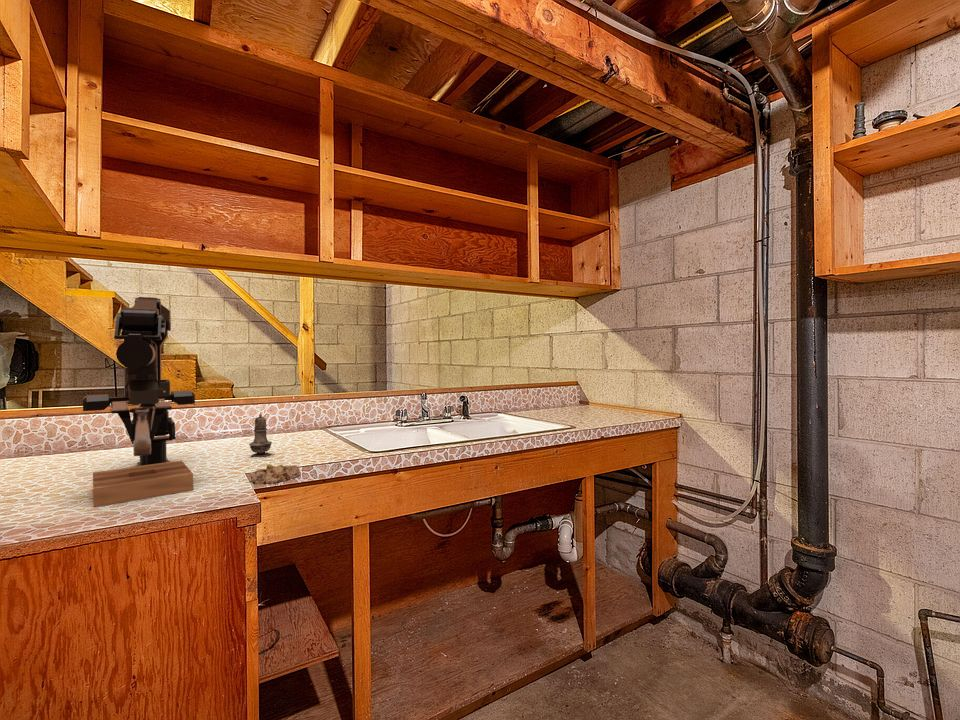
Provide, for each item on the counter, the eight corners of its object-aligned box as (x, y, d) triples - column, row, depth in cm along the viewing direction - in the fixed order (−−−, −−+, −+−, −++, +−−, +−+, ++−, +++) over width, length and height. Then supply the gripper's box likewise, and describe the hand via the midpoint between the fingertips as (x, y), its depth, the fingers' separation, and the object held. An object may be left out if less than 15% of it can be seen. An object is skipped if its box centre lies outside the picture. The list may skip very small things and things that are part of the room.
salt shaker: (276, 455, 128) (276, 413, 128) (256, 459, 123) (256, 415, 123) (264, 452, 131) (264, 411, 131) (244, 456, 126) (244, 414, 126)
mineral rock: (255, 478, 96) (247, 461, 102) (253, 496, 97) (245, 478, 103) (306, 471, 103) (296, 456, 109) (304, 488, 104) (294, 472, 110)
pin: (129, 454, 96) (129, 407, 96) (152, 451, 98) (152, 406, 98) (131, 457, 93) (130, 409, 93) (154, 454, 95) (154, 407, 95)
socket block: (93, 488, 96) (92, 472, 96) (181, 474, 107) (181, 460, 107) (93, 507, 84) (93, 488, 84) (193, 490, 95) (193, 473, 95)
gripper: (81, 369, 83) (83, 453, 83) (198, 367, 95) (199, 440, 96) (82, 368, 92) (83, 444, 92) (190, 366, 104) (191, 433, 104)
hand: (142, 440), depth 96 cm, fingers closed on pin, 3 cm apart
